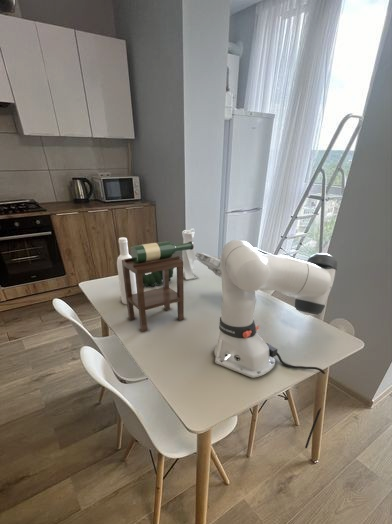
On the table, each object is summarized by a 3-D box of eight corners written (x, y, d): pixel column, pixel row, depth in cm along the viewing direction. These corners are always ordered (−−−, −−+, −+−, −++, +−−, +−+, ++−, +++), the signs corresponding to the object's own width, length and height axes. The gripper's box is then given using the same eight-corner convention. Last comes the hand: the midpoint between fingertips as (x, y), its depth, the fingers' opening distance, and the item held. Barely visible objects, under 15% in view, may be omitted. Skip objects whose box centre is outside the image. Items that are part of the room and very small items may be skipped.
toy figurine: (142, 294, 158) (182, 281, 169) (135, 259, 147) (178, 247, 157) (134, 288, 165) (173, 276, 175) (128, 254, 154) (170, 243, 164)
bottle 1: (134, 305, 143) (127, 241, 126) (119, 304, 144) (110, 239, 127) (140, 298, 149) (134, 236, 133) (125, 297, 150) (117, 235, 134)
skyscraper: (198, 279, 173) (199, 228, 158) (185, 281, 170) (185, 229, 155) (192, 274, 180) (193, 225, 164) (180, 276, 177) (179, 226, 161)
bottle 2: (195, 255, 124) (195, 239, 121) (138, 265, 112) (137, 248, 108) (187, 251, 129) (187, 235, 125) (131, 261, 116) (129, 244, 112)
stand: (183, 319, 132) (183, 258, 117) (142, 331, 122) (136, 267, 107) (167, 307, 141) (165, 249, 126) (128, 318, 132) (121, 257, 117)
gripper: (234, 280, 134) (214, 270, 125) (207, 268, 148) (187, 258, 138) (241, 267, 133) (221, 256, 123) (213, 256, 146) (193, 245, 137)
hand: (203, 257), depth 131 cm, fingers open, 8 cm apart
